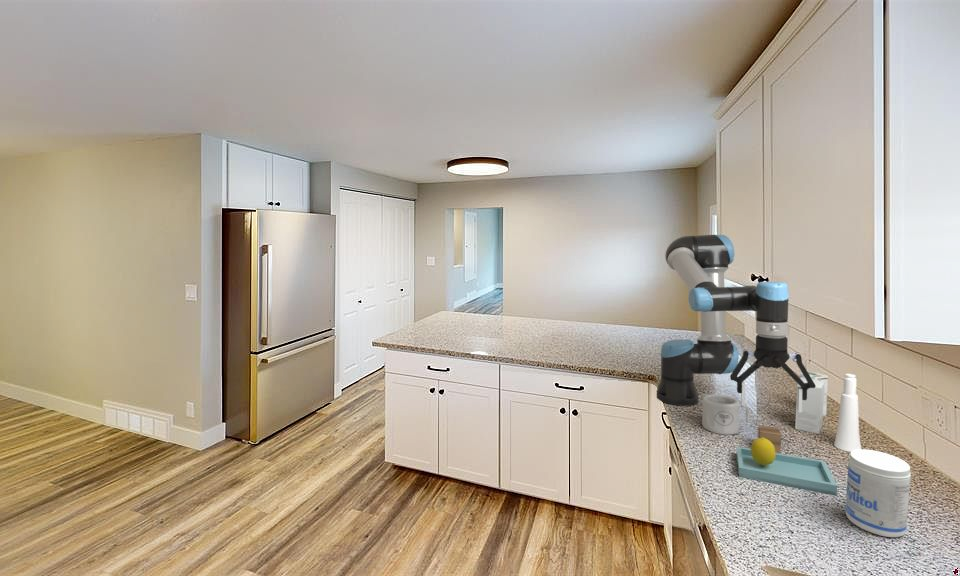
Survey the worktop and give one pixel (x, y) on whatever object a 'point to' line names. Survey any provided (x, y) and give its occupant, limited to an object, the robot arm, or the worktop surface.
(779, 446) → the walnut block
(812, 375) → the syrup box
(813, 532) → the worktop surface
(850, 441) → the cosmetic bottle
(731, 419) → the mug
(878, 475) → the supplement tub
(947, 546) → the worktop surface
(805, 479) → the tray
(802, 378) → the skincare box
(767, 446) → the lemon
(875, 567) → the worktop surface
